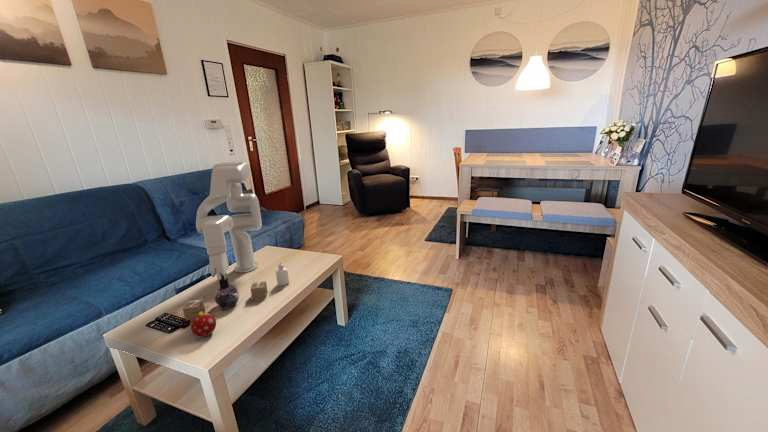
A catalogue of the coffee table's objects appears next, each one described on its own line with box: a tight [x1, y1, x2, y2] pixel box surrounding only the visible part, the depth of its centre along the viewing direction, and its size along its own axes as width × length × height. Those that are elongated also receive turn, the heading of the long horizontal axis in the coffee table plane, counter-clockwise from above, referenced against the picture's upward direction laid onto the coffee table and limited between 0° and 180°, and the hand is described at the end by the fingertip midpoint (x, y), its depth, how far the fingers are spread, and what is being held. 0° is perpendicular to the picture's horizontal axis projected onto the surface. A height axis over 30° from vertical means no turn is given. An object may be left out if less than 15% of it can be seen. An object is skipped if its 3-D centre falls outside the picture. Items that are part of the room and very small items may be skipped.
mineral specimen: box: [214, 283, 240, 310], centre depth 140 cm, size 10×10×10 cm
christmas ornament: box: [190, 312, 217, 338], centre depth 120 cm, size 9×9×10 cm
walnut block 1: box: [250, 280, 268, 301], centre depth 147 cm, size 6×6×6 cm
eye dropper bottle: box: [275, 261, 290, 287], centre depth 156 cm, size 4×6×12 cm
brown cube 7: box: [182, 298, 207, 322], centre depth 133 cm, size 6×6×6 cm
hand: (224, 287), depth 138 cm, fingers closed
